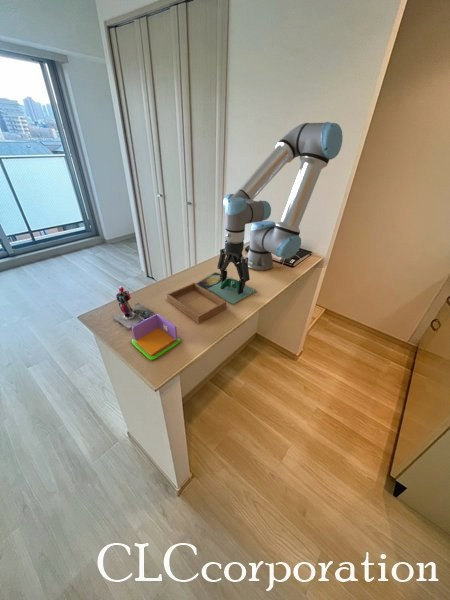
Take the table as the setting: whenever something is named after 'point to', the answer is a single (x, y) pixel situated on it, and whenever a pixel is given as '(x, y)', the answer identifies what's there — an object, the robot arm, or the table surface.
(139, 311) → the statue
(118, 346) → the table surface
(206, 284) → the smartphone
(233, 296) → the towel
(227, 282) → the gaming controller
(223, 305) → the box
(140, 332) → the miniature room corner
